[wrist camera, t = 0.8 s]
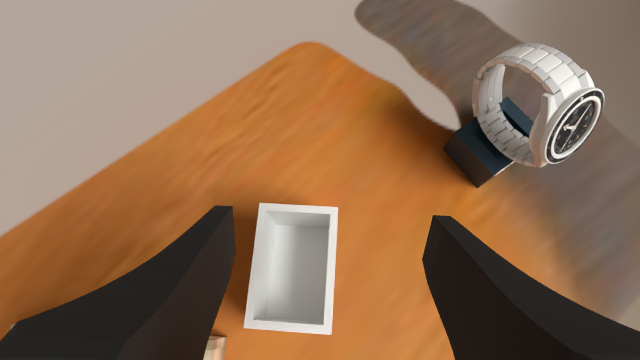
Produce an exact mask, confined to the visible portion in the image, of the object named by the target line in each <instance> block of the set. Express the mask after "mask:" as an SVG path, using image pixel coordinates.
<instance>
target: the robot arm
mask: <svg viewBox="0 0 640 360" xmlns="http://www.w3.org/2000/svg"><path fill="white" fill-rule="evenodd" d="M235 252H236V249H235V235H234V221H233V206H214V207H213V208H212V209H211V210H210V211H208V212H207V213H206V214H205V215H204V216H203V217H202V218H201V219H200V220H199V221H197V222H196V223H195V224H194V225H193V226H192V227H191V228H190V229H188V230H187V231H186V232H185V233H184V234H182V235H181V236H180V237H179V238H178V239H177V240H175V241H174V242H173V243H171V244H170V245H169V246H167V247H166V248H165V249H164V250H162V251H161V252H160V253H158V254H157V255H155V256H154V257H153V258H151V259H150V260H148V261H147V262H145V263H143V264H142V265H140V266H139V267H137V268H136V269H134V270H132V271H131V272H129V273H127V274H125V275H123V276H121V277H120V278H118V279H116V280H114V281H112V282H110V283H109V284H107V285H105V286H103V287H101V288H99V289H97V290H95V291H93V292H91V293H89V294H86V295H84V296H82V297H80V298H77V299H75V300H73V301H71V302H68V303H66V304H63V305H61V306H59V307H56V308H53V309H51V310H48V311H45V312H43V313H40V314H37V315H35V316H32V317H29V318H27V319H24V320H21V321H18V322H17V323H16V324H15V325H14V326H13V327H12V329H11V330H10V331H9V332H8V333H7V334H6V335H5V336H4V338H3V339H2V340H1V341H0V360H203V359H204V355H205V351H206V347H207V343H208V340H209V337H210V333H211V330H212V327H213V325H214V322H215V319H216V316H217V313H218V310H219V308H220V305H221V302H222V299H223V296H224V294H225V291H226V288H227V285H228V282H229V279H230V276H231V272H232V267H233V262H234V257H235ZM422 260H423V265H424V270H425V274H426V278H427V283H428V286H429V289H430V291H431V294H432V297H433V299H434V302H435V305H436V307H437V310H438V312H439V315H440V318H441V320H442V323H443V325H444V328H445V330H446V333H447V336H448V338H449V341H450V344H451V347H452V350H453V353H454V357H455V360H640V331H637V330H634V329H632V328H629V327H627V326H624V325H622V324H620V323H617V322H615V321H613V320H611V319H609V318H606V317H604V316H602V315H600V314H597V313H595V312H593V311H591V310H589V309H587V308H585V307H583V306H581V305H579V304H577V303H575V302H573V301H571V300H570V299H568V298H566V297H564V296H562V295H560V294H558V293H556V292H555V291H553V290H551V289H549V288H548V287H546V286H544V285H543V284H541V283H540V282H538V281H536V280H535V279H533V278H531V277H530V276H528V275H527V274H525V273H524V272H522V271H521V270H519V269H518V268H516V267H515V266H514V265H512V264H511V263H509V262H508V261H507V260H505V259H504V258H502V257H501V256H500V255H499V254H497V253H496V252H495V251H493V250H492V249H491V248H489V247H488V246H487V245H486V244H484V243H483V242H482V241H481V240H479V239H478V238H477V237H476V236H475V235H473V234H472V233H471V232H470V231H468V230H467V229H466V228H465V227H464V226H462V225H461V224H460V223H459V222H457V221H456V220H455V219H453V218H452V217H451V216H438V215H433V218H432V222H431V226H430V230H429V234H428V238H427V242H426V246H425V250H424V254H423V258H422Z"/></svg>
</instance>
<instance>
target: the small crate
mask: <svg viewBox="0 0 640 360" xmlns="http://www.w3.org/2000/svg"><path fill="white" fill-rule="evenodd" d="M337 224H338V207H324V206H306V205H288V204H270V203H260V204H259V211H258V219H257V227H256V235H255V243H254V251H253V258H252V266H251V274H250V282H249V290H248V298H247V305H246V313H245V321H244V328H250V329H263V330H276V331H289V332H302V333H315V334H328V335H331V333H332V318H333V299H334V280H335V262H336V243H337Z"/></svg>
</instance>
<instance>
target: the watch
mask: <svg viewBox="0 0 640 360" xmlns="http://www.w3.org/2000/svg"><path fill="white" fill-rule="evenodd" d="M571 62H572V60H571V59H570V58H569V57H568V56H566V55H565V54H563V53H561V52H559V51H558V50H556V49H554V48H552V47H549V46H545V45H542V44H535V43H532V44H530V43H526V44H519V45H516V46H513V47H511V48H509V49H508V50H506V51H505V52H503V53H502V54H500V55H498V56H497V57H495V58H494V59H492V60H491V61H489V62H488V63H486V64H485V65H484V66H482V68H481V69H480V71H479V72H478V73H477V74H476V75H475V77H474V82H473V89H472V107H473V114H474V117H475V116H476V118H475V119H474V120H472V121H471V122H469V123H468V124H466V125H465V126H463V127H462V128H460V129H459V130H457V131H456V132H454V134H453V135H452V137H451V138H450V140H449V141H448V142H447V144H446V145H445V147H444V148H443V149H444V150H445V152H446V153H447V154H448V155H449V156H450V157H451V158H452V159H453V161H454V162H455V163H456V164H457V165H458V166H459V167H460V169H461V170H462V171H463V172H464V173H465V174H466V175H467V177H468V178H469V179H470V180H471V181H472V182H473V183H474V184H475V186H476V187H477V188H479V187H480V186H481V185H483V184H484V183H486V182H487V181H488V180H490V179H491V178H493V177H494V176H496V175H497V174H498V173H500V172H501V171H502V170H504V169H505V168H507V167H508V166H509V165H511V164H512V163H514V162H517V163H520V164H524V165H527V166H532V167H533V166H535V167H543V166H545V165H546V164H548V163H550V164H556V163H559V162H561V161H563V160H565V159H567V158H568V157H569V156H571V155H572V154H573V153H574V152H575V151H576V150H577V149H578V148H579V147H580V146H581V145H582V144H583V143H584V142H585V141H586V139H587V138H588V137H589V135H590V134H591V132H592V131H593V129H594V127H595V126H596V124H597V122H598V120H599V118H600V115H601V113H602V110H603V105H604V94H603V92H602V91H601V90H600V89H598V88H595V87H594V84H593V82H592V80H591V78H590V76H589V74H588V73H587V71H586V70H582V69H581V68H580V67H579V66H578V65H577V64H576V63H574V62H572V63H571ZM504 64H507V65H510V66H514V67H519V68H520V69H521V70H523V71H525V72H527V73H530V72H531V76H533V77H534V78H535V79H536V80H537V81H538V82H539V83H542V82H543V81H544V82H543V83H542V86H543V87H544V88H545V89H546V91H547V92H548V93H549V94H548V93H544V94H543V95H542V97H541V104H540V112H539V114H538V116H537V117H536V119H535V122H534V123H533V122H532V121H531V120H530V119H529V118H528V117H527V116H526V115H525V114H524V113H523V112H522V111H521V110H520V109H519V108H518V107H517V106H516V105H515V104H514V103H513V102H512V101H511V100H510V99H509V98H508V97H506V98H505V99H503V100H502V80H503V75H504V71H505V66H504ZM568 64H569V65H568Z"/></svg>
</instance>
